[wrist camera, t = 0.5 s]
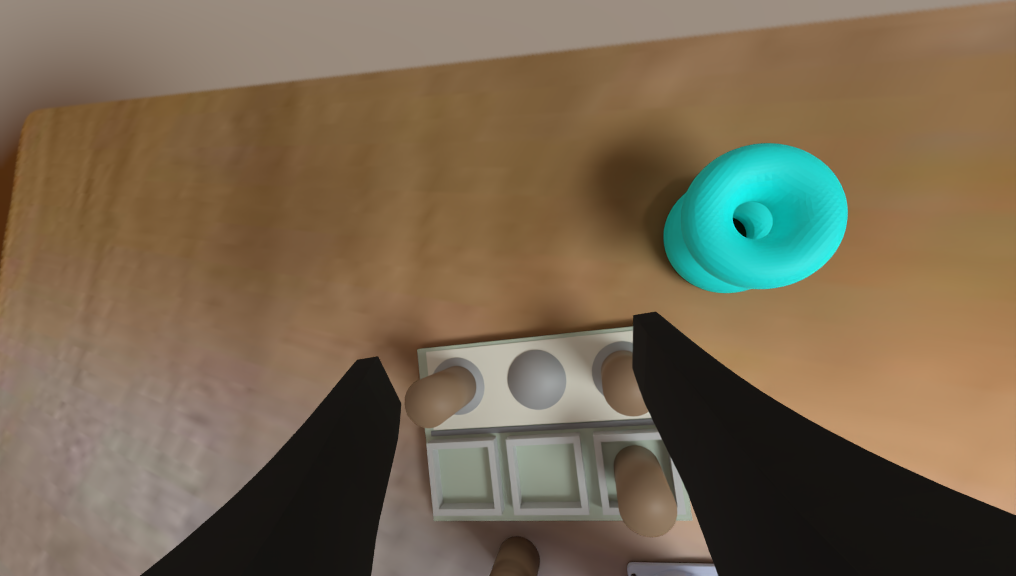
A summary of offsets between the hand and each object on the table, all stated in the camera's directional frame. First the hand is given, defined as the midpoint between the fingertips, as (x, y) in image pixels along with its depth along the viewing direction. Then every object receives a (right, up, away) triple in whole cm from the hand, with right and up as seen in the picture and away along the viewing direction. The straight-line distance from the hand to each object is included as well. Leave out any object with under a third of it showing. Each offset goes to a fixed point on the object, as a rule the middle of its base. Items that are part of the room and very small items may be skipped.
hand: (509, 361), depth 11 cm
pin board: (+3, -11, +26) cm, 29 cm away
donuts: (+19, +7, +24) cm, 31 cm away
